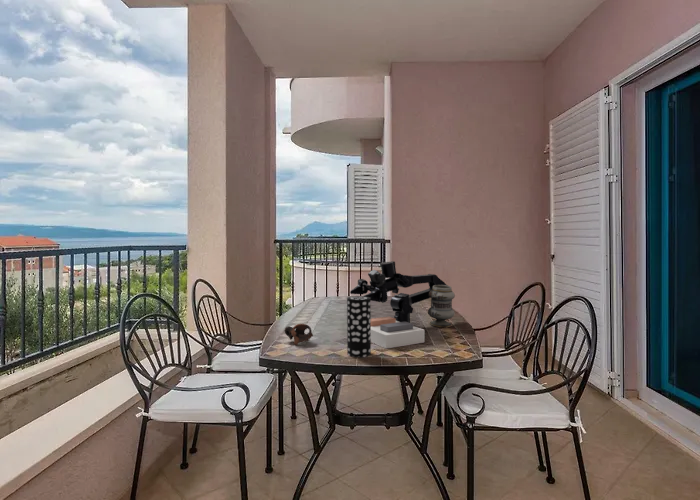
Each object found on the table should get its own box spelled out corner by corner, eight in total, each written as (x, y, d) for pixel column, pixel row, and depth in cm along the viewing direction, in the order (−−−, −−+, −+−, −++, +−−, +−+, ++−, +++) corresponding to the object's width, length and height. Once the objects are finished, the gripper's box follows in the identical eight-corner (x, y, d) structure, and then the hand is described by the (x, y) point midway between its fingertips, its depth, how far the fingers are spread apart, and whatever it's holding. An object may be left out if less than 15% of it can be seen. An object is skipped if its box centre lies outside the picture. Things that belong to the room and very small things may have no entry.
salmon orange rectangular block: (389, 325, 184) (389, 316, 184) (395, 327, 179) (395, 318, 179) (365, 328, 178) (364, 319, 178) (371, 331, 174) (371, 321, 174)
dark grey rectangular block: (405, 331, 173) (405, 321, 173) (412, 333, 169) (412, 323, 169) (380, 334, 168) (380, 324, 167) (387, 337, 163) (387, 327, 163)
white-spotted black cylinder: (354, 358, 147) (353, 300, 146) (343, 352, 154) (343, 297, 153) (375, 355, 150) (374, 298, 150) (363, 349, 158) (363, 295, 157)
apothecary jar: (433, 328, 191) (434, 288, 190) (423, 321, 203) (424, 284, 201) (458, 327, 193) (459, 288, 192) (447, 320, 205) (448, 283, 204)
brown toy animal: (315, 340, 174) (316, 325, 169) (306, 356, 166) (308, 340, 162) (287, 331, 176) (288, 316, 172) (278, 347, 168) (278, 331, 164)
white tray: (390, 330, 188) (390, 318, 188) (424, 342, 167) (424, 329, 167) (354, 334, 180) (354, 323, 180) (385, 348, 159) (385, 335, 159)
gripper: (371, 264, 197) (343, 272, 189) (397, 273, 182) (367, 282, 174) (373, 287, 200) (345, 296, 192) (398, 298, 185) (369, 308, 177)
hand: (356, 295), depth 184 cm, fingers open, 9 cm apart
